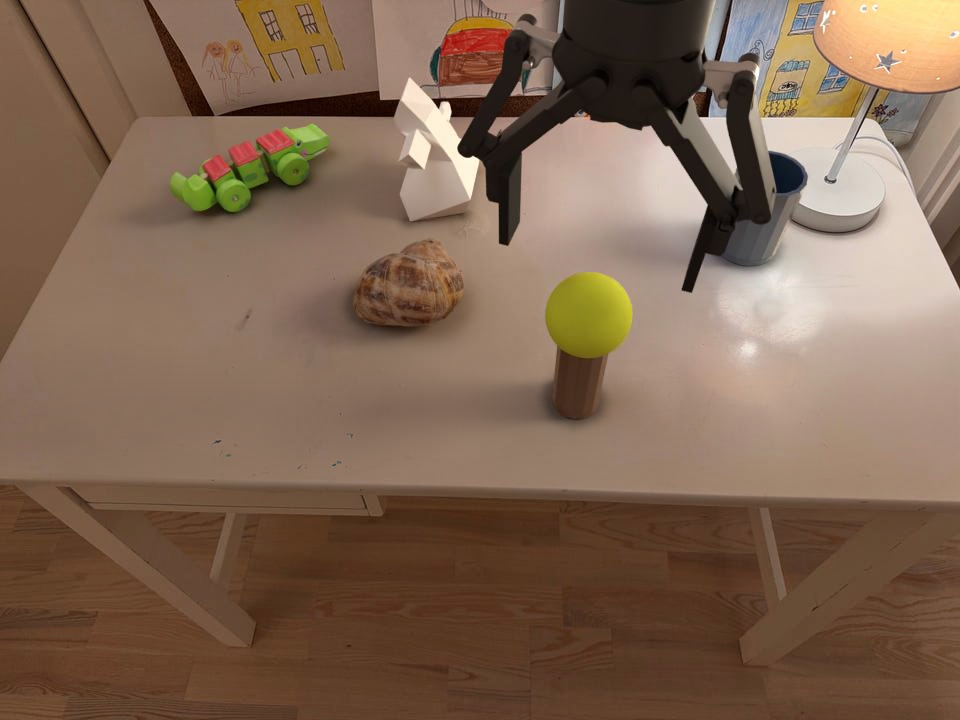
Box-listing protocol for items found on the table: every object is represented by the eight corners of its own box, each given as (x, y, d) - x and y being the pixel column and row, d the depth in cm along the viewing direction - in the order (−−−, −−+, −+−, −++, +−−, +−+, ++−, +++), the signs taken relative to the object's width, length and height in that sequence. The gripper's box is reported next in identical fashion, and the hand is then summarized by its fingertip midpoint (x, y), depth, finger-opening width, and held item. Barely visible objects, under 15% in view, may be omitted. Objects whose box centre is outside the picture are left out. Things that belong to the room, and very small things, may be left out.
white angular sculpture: (486, 155, 88) (483, 53, 77) (468, 234, 81) (463, 134, 69) (420, 150, 89) (408, 49, 78) (397, 227, 81) (380, 128, 70)
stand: (607, 408, 67) (621, 347, 59) (565, 426, 66) (574, 366, 58) (584, 374, 69) (595, 310, 61) (543, 390, 68) (549, 327, 60)
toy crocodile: (317, 138, 91) (306, 97, 86) (342, 165, 88) (333, 124, 83) (174, 202, 85) (153, 162, 80) (195, 233, 82) (175, 193, 77)
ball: (641, 358, 58) (655, 305, 53) (565, 386, 57) (570, 335, 51) (602, 298, 62) (611, 243, 56) (530, 323, 61) (532, 269, 55)
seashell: (415, 243, 79) (439, 211, 69) (460, 310, 79) (490, 287, 70) (337, 290, 75) (350, 262, 66) (384, 360, 75) (404, 342, 66)
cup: (789, 253, 77) (822, 183, 69) (737, 274, 76) (765, 204, 68) (750, 214, 81) (778, 143, 73) (700, 233, 80) (723, 162, 71)
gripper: (926, -48, 33) (779, 260, 50) (437, -116, 38) (458, 183, 56) (922, 38, 29) (764, 339, 47) (379, -51, 35) (420, 248, 52)
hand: (597, 255), depth 51 cm, fingers open, 13 cm apart
